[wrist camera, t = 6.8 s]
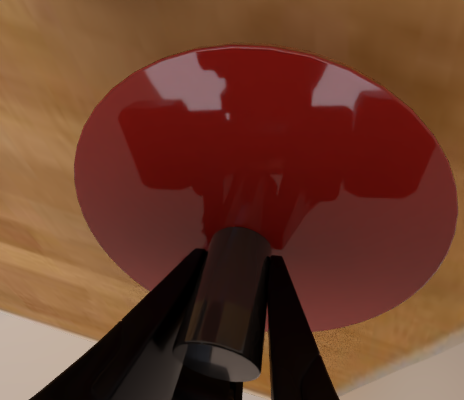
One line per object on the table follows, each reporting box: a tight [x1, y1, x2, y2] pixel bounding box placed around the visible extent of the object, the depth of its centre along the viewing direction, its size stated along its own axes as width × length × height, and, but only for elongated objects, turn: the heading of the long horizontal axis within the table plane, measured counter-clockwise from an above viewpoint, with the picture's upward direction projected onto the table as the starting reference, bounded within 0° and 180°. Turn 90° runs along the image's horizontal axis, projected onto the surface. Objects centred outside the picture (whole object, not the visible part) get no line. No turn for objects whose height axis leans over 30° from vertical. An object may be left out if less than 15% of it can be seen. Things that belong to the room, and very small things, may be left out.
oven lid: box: [74, 43, 458, 382], centre depth 8 cm, size 13×13×5 cm
